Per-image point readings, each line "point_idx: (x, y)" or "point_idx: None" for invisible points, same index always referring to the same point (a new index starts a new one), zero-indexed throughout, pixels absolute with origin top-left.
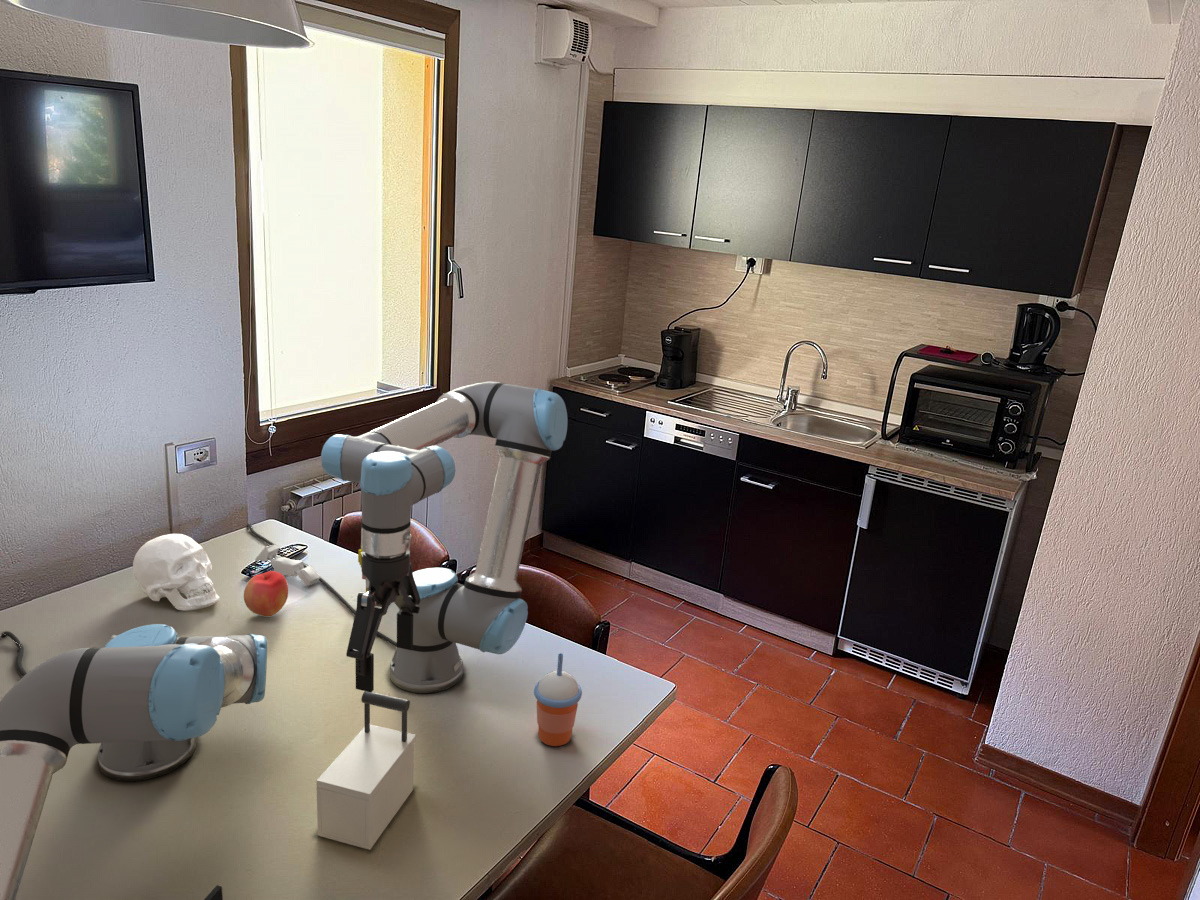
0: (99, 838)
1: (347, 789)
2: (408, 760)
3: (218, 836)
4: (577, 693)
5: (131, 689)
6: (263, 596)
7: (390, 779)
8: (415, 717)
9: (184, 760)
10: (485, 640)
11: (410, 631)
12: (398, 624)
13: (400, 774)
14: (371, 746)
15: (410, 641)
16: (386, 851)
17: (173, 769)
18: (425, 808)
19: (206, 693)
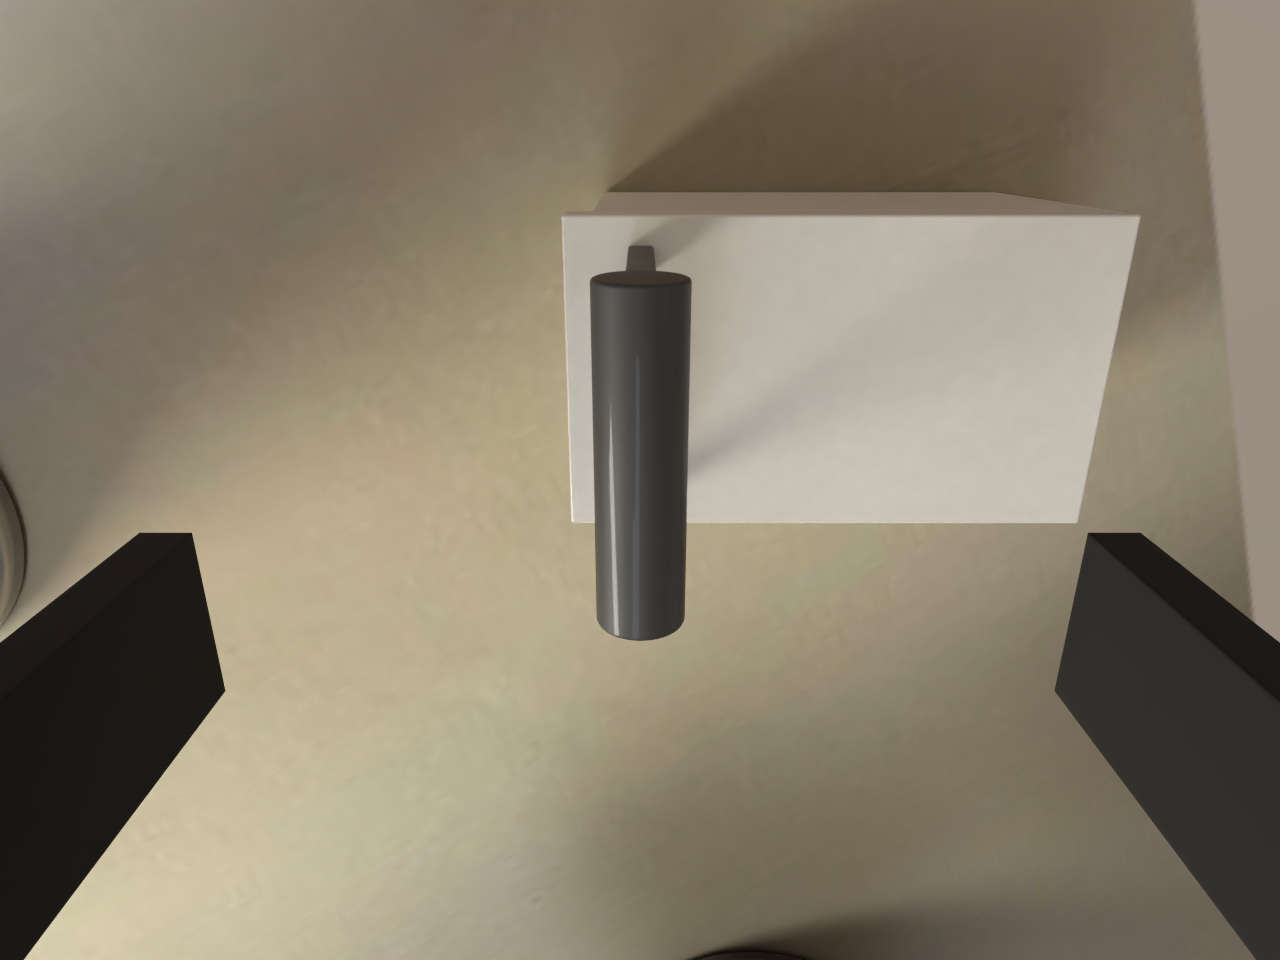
0: (1091, 945)
1: (1110, 351)
2: (662, 206)
3: (1027, 699)
4: None
5: None
6: None
7: (878, 208)
8: (163, 413)
9: (753, 958)
10: None
11: (26, 690)
12: (29, 918)
13: (754, 204)
14: (752, 407)
15: (128, 597)
16: (987, 121)
17: (794, 958)
18: (700, 78)
19: None
